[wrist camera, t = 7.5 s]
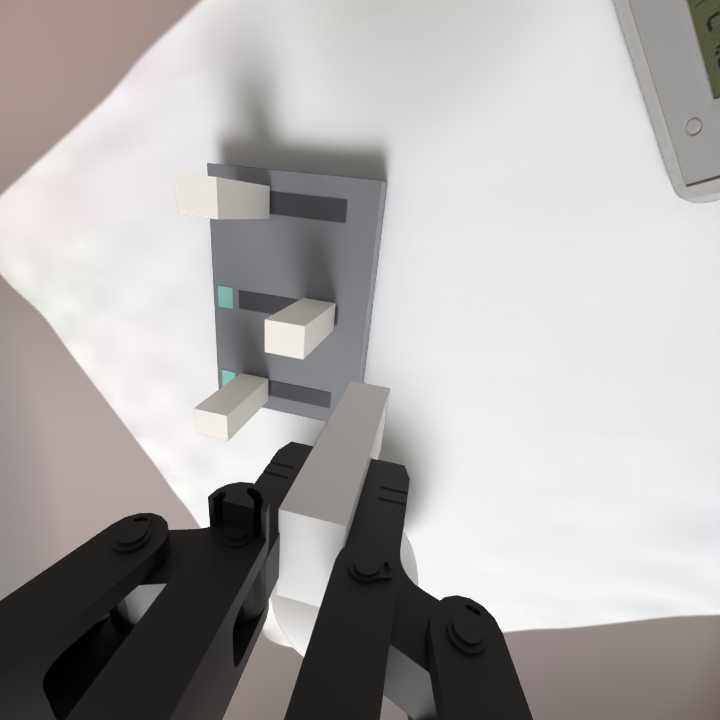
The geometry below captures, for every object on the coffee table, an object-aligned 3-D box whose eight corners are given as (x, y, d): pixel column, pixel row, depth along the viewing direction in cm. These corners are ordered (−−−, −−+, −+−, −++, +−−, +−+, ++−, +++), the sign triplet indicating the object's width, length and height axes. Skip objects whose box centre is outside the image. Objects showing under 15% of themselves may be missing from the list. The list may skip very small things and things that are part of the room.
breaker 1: (269, 186, 24) (216, 176, 18) (269, 218, 24) (218, 219, 19) (236, 182, 24) (173, 172, 19) (236, 214, 25) (177, 214, 19)
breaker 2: (268, 378, 29) (226, 416, 24) (268, 400, 30) (227, 441, 24) (240, 373, 29) (193, 408, 24) (241, 394, 30) (195, 433, 25)
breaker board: (387, 183, 24) (382, 180, 22) (359, 415, 31) (353, 427, 29) (223, 166, 26) (206, 163, 24) (231, 388, 33) (218, 398, 31)
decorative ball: (367, 582, 38) (335, 726, 28) (280, 510, 37) (212, 630, 27) (450, 529, 33) (451, 680, 23) (353, 446, 32) (305, 560, 22)
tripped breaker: (335, 302, 26) (304, 326, 20) (333, 330, 26) (303, 359, 21) (303, 297, 26) (264, 319, 20) (302, 324, 27) (264, 352, 21)
